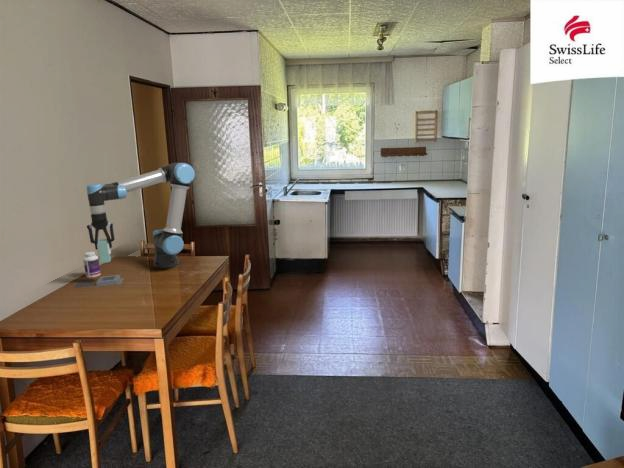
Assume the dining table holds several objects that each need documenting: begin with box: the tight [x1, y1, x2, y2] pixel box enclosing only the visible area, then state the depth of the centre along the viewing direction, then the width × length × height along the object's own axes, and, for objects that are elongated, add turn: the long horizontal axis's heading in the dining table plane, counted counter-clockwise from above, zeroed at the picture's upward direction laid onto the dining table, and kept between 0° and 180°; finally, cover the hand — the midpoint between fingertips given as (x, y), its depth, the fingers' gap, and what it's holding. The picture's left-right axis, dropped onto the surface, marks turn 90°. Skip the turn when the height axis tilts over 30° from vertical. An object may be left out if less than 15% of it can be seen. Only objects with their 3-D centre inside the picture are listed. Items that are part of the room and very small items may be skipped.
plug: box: [98, 238, 112, 264], centre depth 258 cm, size 4×4×12 cm
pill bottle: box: [82, 251, 102, 278], centre depth 276 cm, size 8×8×14 cm
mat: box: [73, 280, 96, 289], centre depth 261 cm, size 9×9×1 cm
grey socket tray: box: [93, 274, 124, 288], centre depth 262 cm, size 14×11×3 cm
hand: (104, 254), depth 258 cm, fingers closed on plug, 4 cm apart
